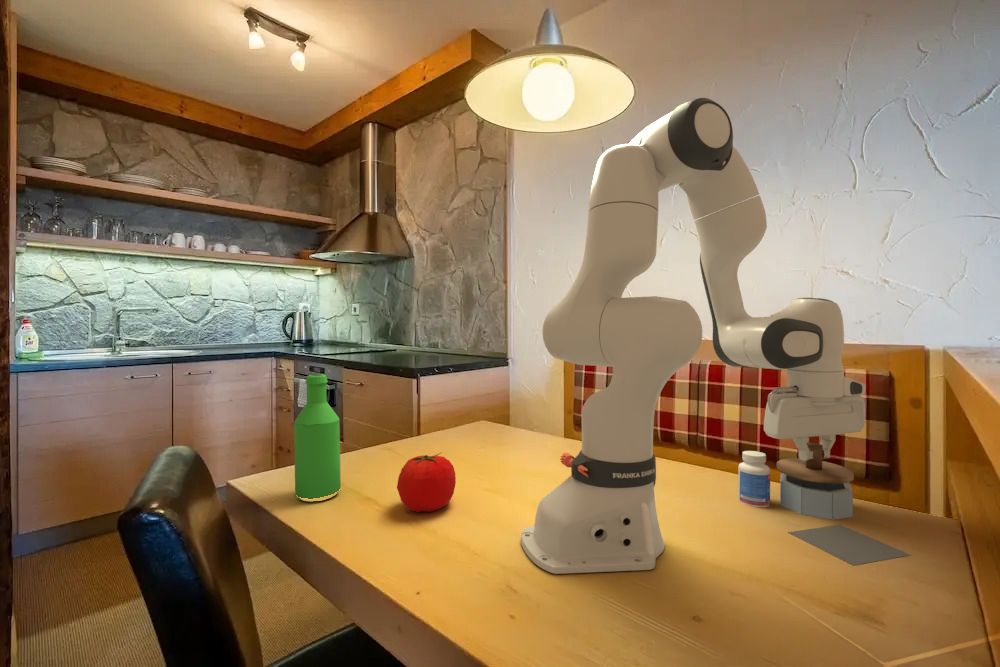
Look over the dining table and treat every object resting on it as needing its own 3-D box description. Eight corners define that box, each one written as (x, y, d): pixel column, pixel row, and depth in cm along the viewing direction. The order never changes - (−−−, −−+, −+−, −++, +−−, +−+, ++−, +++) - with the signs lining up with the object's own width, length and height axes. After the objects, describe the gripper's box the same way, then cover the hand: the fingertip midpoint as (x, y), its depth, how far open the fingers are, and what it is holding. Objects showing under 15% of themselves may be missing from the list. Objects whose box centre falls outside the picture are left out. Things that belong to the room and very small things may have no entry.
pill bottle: (774, 510, 87) (774, 458, 87) (743, 508, 88) (743, 456, 88) (764, 499, 93) (764, 450, 93) (734, 497, 94) (734, 449, 94)
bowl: (817, 523, 81) (817, 495, 81) (766, 500, 92) (766, 475, 92) (866, 516, 84) (866, 488, 84) (811, 495, 95) (811, 470, 95)
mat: (853, 568, 67) (853, 565, 67) (787, 534, 77) (787, 532, 77) (911, 557, 69) (911, 554, 69) (840, 526, 80) (840, 524, 80)
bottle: (341, 500, 94) (339, 376, 94) (294, 506, 91) (292, 378, 91) (339, 486, 103) (337, 372, 102) (296, 492, 99) (294, 374, 99)
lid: (817, 486, 81) (817, 456, 81) (762, 465, 92) (762, 439, 92) (870, 479, 84) (871, 450, 84) (810, 460, 95) (811, 434, 95)
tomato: (470, 502, 93) (469, 450, 93) (426, 525, 82) (425, 467, 82) (427, 491, 99) (426, 442, 99) (381, 511, 88) (380, 457, 88)
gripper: (783, 390, 82) (783, 468, 82) (873, 384, 87) (872, 458, 88) (755, 385, 88) (755, 458, 88) (840, 380, 93) (840, 450, 94)
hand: (814, 458), depth 88 cm, fingers closed on lid, 3 cm apart
